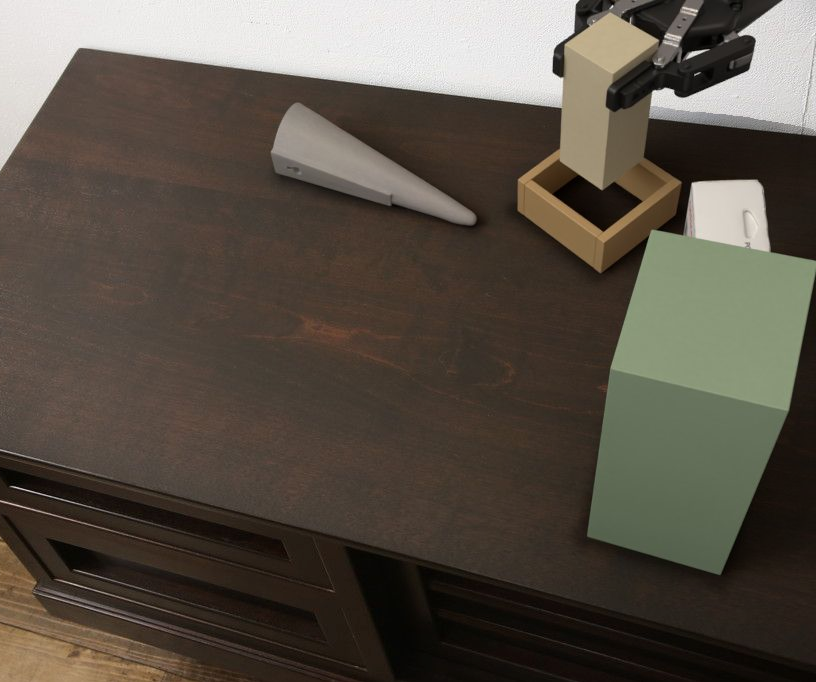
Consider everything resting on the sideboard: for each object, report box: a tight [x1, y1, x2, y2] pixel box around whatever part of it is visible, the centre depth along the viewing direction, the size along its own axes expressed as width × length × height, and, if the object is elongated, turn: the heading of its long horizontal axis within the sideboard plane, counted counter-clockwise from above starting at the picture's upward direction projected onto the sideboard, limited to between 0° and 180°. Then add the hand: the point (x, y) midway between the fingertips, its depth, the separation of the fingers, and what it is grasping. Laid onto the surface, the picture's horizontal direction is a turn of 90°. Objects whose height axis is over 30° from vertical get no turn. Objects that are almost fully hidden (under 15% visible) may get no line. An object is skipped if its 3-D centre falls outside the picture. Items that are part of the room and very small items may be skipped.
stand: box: [586, 229, 816, 576], centre depth 68 cm, size 9×10×22 cm
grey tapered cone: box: [270, 102, 478, 227], centre depth 96 cm, size 6×6×19 cm
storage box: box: [517, 148, 683, 274], centre depth 90 cm, size 10×9×4 cm
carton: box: [559, 13, 659, 191], centre depth 81 cm, size 5×5×12 cm
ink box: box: [683, 179, 772, 252], centre depth 79 cm, size 9×5×12 cm, turn 172°
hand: (583, 83), depth 77 cm, fingers closed on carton, 4 cm apart
